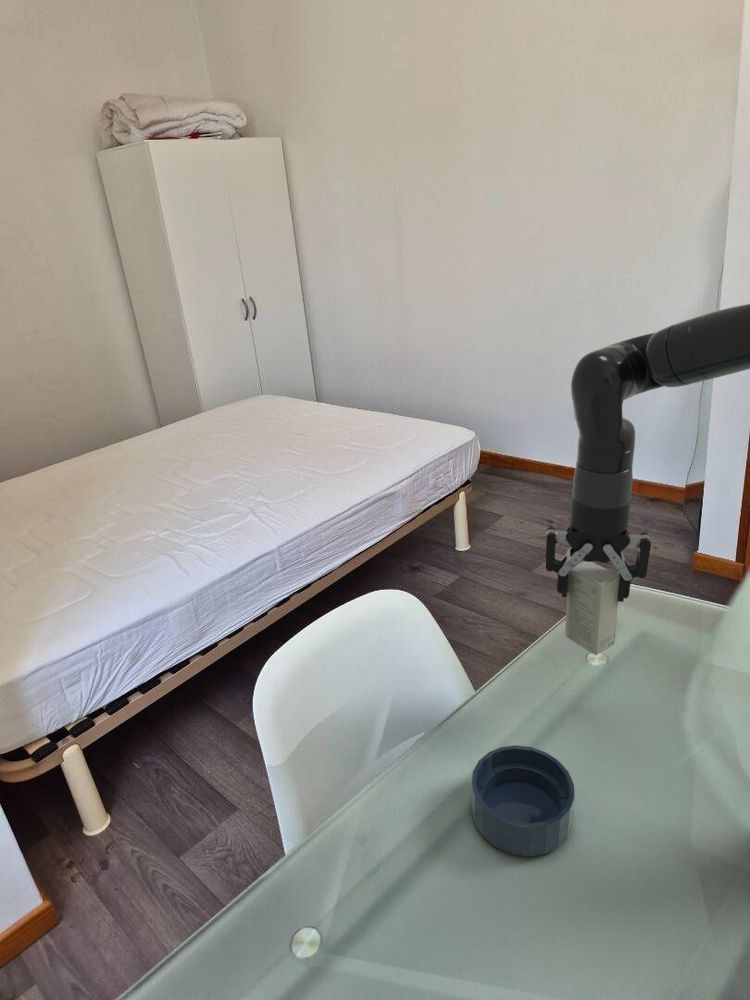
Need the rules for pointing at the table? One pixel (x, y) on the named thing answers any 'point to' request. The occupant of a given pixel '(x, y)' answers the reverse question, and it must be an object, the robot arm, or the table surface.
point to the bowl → (522, 800)
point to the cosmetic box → (592, 606)
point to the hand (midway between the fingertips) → (592, 596)
